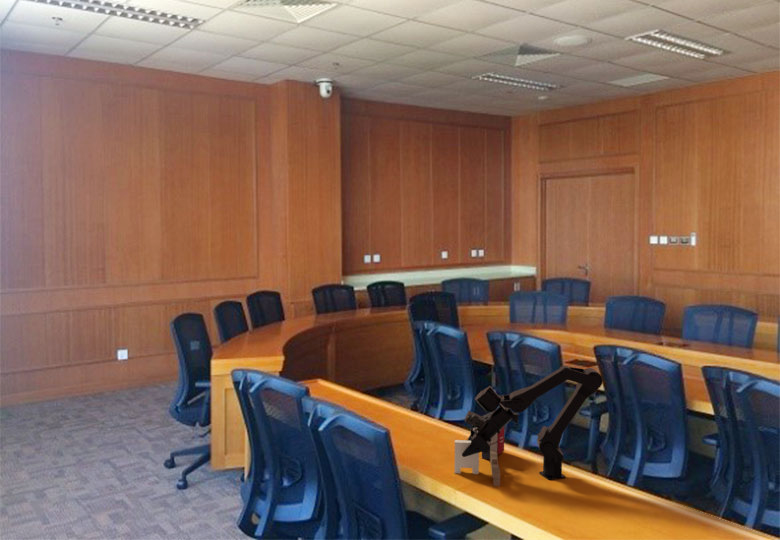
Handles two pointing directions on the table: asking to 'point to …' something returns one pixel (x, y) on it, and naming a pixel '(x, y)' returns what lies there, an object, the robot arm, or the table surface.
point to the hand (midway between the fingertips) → (462, 452)
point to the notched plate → (467, 461)
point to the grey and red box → (495, 442)
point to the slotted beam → (495, 468)
